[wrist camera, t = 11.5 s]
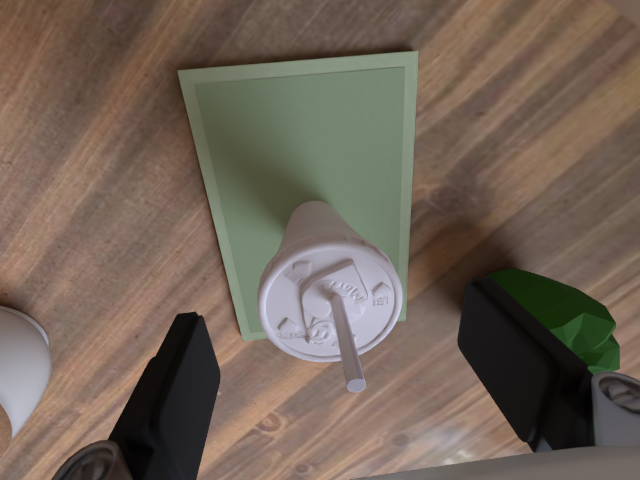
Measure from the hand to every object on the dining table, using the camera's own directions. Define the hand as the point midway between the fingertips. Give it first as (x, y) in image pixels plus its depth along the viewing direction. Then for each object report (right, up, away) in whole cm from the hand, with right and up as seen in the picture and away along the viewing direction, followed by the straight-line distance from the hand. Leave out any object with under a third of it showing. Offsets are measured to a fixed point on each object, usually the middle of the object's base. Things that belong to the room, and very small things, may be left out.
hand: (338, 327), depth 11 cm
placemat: (-1, +5, +11) cm, 12 cm away
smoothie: (-1, +4, +11) cm, 12 cm away
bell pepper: (+15, -2, +16) cm, 22 cm away
